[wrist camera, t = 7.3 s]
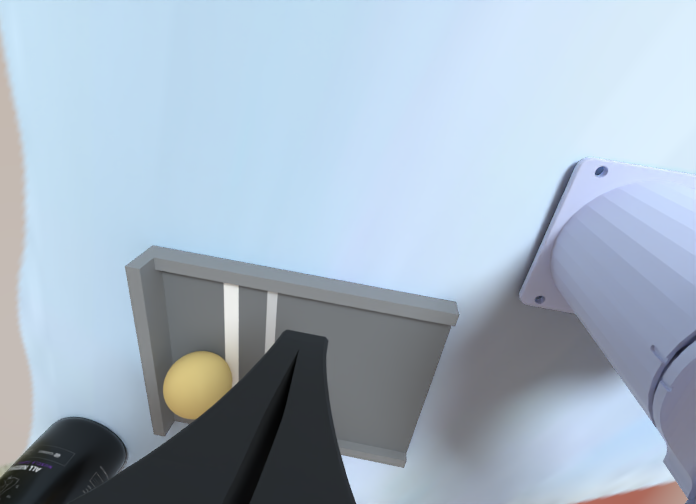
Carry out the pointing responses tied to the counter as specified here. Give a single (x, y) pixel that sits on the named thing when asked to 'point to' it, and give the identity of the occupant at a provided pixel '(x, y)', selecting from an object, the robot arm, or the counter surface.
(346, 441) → the lane
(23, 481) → the supplement bottle
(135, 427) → the counter surface
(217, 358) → the ball
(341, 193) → the counter surface
